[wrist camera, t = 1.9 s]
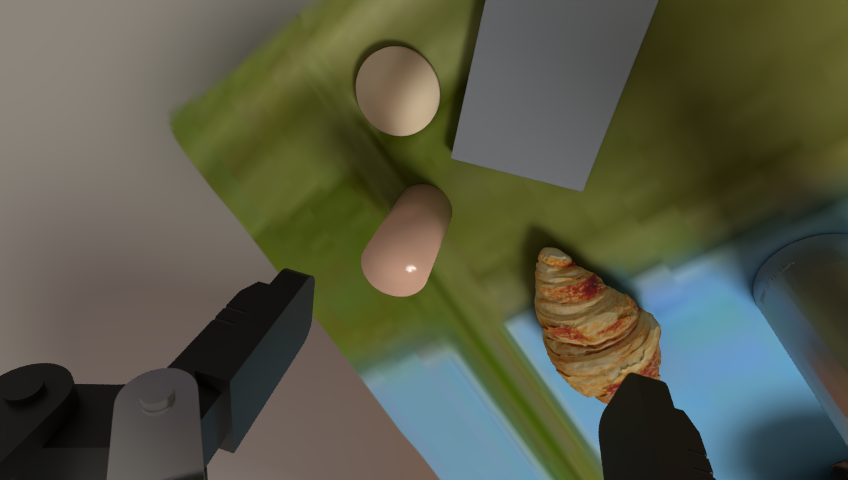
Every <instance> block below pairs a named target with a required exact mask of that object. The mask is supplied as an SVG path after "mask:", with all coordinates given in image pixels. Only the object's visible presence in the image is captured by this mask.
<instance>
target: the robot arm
mask: <svg viewBox="0 0 848 480" xmlns="http://www.w3.org/2000/svg"><path fill="white" fill-rule="evenodd" d="M314 285H315V279H314V277H313V276H310V275H307V274H304V273H300V272H297V271H294V270H290V269H287V268H285V269H283V270H282V271H281V272H280V273H279V274H278V275H277V276H276V278H275V279H274V280H273V281H272V282H271V283H270V284H265V283H262V282H257V283H255V284H253V285H251V286H249V287H247V288H245V289H243V290H241V291H240V292H239V293H238V294H237V295H236V296H235V297H234V298H233V299H232V300H231V301H230V302H229V303H228V304H227V306H226V308H224V309H222V311H221V312H220V313H219V314H218V315H217V316H216V318H215V320H212V321H211V322H210V323H209V324H208V325H207V326H206V327H205V329H204V330H203V331H202V332H201V333H200V334H199V335H198V336H197V337H196V338H195V339H194V340H193V341H192V342H191V343H190V345H188V347H187V348H186V349H185V350H184V351H183V352H182V353H181V354H180V355H179V356H178V357H177V358H176V359H175V361H173V362H172V363H171V364H170V365H169V366H168V367H167V368H161V369H155V370H151V371H148V372H145V373H143V374H141V375H139V376H137V377H135V378H134V379H132V380H131V381H129V382H128V383H127V384H123V385H104V384H102V385H101V384H100V385H99V384H75V383H74V380H73V377H72V375H71V373H70V372H69V371H68V370H67V369H66V368H64V367H62V366H60V365H57V364H51V363H39V364H31V365H27V366H23V367H19V368H17V369H14V370H11V371H9V372H7V373H5V374H3V375H1V376H0V480H208V474H207V464H208V463H209V461H210V460H211V459H212V457H213V456H214V454H215V453H216V451H217V450H218V448H220V449H223V450H226V451H229V452H231V453H234V452H235V451H236V449H237V447H238V446H239V444H240V443H241V441H242V440H243V438H244V437H245V435H246V433H247V432H248V430H249V429H250V427H251V426H252V424H253V422H254V421H255V419H256V418H257V416H258V414H259V413H260V411H261V410H262V408H263V407H264V405H265V404H266V402H267V400H268V399H269V397H270V396H271V394H272V393H273V391H274V389H275V388H276V386H277V385H278V383H279V382H280V380H281V378H282V377H283V375H284V374H285V372H286V371H287V369H288V367H289V366H290V364H291V363H292V361H293V359H294V358H295V356H296V355H297V353H298V352H299V350H300V349H301V347H302V345H303V344H304V342H305V340H306V338H307V336H308V333H309V330H310V326H311V321H312V311H313V298H314ZM753 297H754V299H755V302H756V304H757V306H758V308H759V309H760V311H761V312H762V314H763V315H764V317H765V319H766V320H767V322H768V323H769V325H770V326H771V328H772V329H773V331H774V333H775V334H776V336H777V338H778V339H779V341H780V342H781V344H782V345H783V347H784V348H785V350H786V351H787V353H788V355H789V356H790V358H791V359H792V361H793V362H794V364H795V365H796V367H797V369H798V370H799V372H800V373H801V375H802V376H803V378H804V379H805V381H806V382H807V384H808V386H809V387H810V389H811V390H812V392H813V393H814V395H815V396H816V398H817V400H818V401H819V403H820V404H821V406H822V407H823V409H824V410H825V412H826V413H827V415H828V417H829V418H830V420H831V421H832V423H833V424H834V426H835V427H836V429H837V431H838V432H839V434H840V435H841V437H842V438H843V440H844V441H845V443H846V444H847V446H848V234H823V235H817V236H813V237H808V238H805V239H802V240H799V241H797V242H794V243H791V244H790V245H788V246H786V247H784V248H782V249H781V250H779V251H778V252H776V253H775V254H774V255H773V256H771V257H770V258H769V259H768V260H767V261H766V262H765V263H764V264H763V266H762V267H761V268H760V270H759V272H758V273H757V275H756V277H755V281H754V285H753ZM599 443H600V451H601V459H602V467H603V475H604V480H716V479H715V478H713V471H712V468H711V465H710V462H709V459H707V458H706V456H707V453H706V450H705V448H704V445H703V442H702V439H701V436H700V433H699V431H698V430H697V429H696V427H695V426H694V425H693V423H692V422H691V420H690V419H689V418H688V416H687V415H686V413H685V412H684V411H683V410H679V409H676V408H674V405H673V402H672V399H671V395H670V392H669V389H668V386H667V385H666V383H665V382H663V381H660V380H656V379H653V378H650V377H646V376H643V375H640V374H636V373H633V372H631V373H629V374H627V375H626V377H625V378H624V380H623V381H622V383H621V384H620V386H619V388H618V389H617V391H616V392H615V394H614V395H613V397H612V399H611V400H610V402H609V403H608V405H607V407H606V408H605V410H604V411H603V414H602V416H601V419H600V424H599Z"/></svg>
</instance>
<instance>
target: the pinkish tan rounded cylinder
mask: <svg viewBox="0 0 848 480" xmlns="http://www.w3.org/2000/svg"><path fill="white" fill-rule="evenodd" d="M451 217H452V207H451V203H450V201H449V199H448V198H447V196H446V195H445V194H444V193H443V192H442V191H441V190H440V189H438V188H436V187H434V186H431V185H428V184H416V185H412V186H410V187H408V188H407V189H405V190H404V191H403V192H402V194H401V195H400V197H399V198H398V200H397V201H396V203H395V204H394V206H393V207H392V209H391V210H390V212H389V213H388V215H387V216H386V218H385V219H384V221H383V222H382V224H381V225H380V227H379V228H378V230H377V231H376V233H375V234H374V236H373V237H372V239H371V240H370V242H369V243H368V245H367V246H366V248H365V249H364V251H363V254H362V257H361V266H362V270H363V273H364V275H365V277H366V278H367V280H368V281H369V282H370V283H371V284H372V285H373V286H374V287H375V288H377V289H378V290H380V291H381V292H383V293H386V294H389V295H392V296H409V295H412V294H415V293H417V292H418V291H420V290H421V289H422V288H423V287H424V285H425V284H426V282H427V279H428V277H429V274H430V272H431V269H432V267H433V264H434V261H435V259H436V256H437V254H438V251H439V249H440V246H441V243H442V241H443V238H444V236H445V233H446V231H447V228H448V225H449V223H450V220H451Z"/></svg>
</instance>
